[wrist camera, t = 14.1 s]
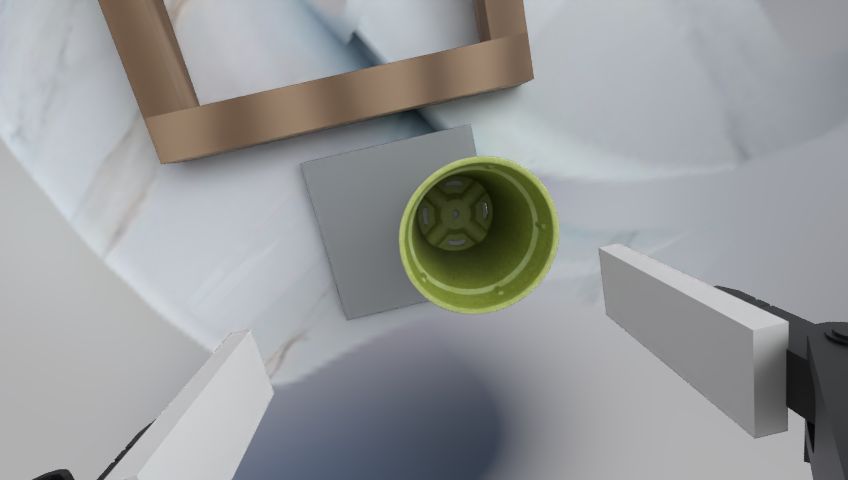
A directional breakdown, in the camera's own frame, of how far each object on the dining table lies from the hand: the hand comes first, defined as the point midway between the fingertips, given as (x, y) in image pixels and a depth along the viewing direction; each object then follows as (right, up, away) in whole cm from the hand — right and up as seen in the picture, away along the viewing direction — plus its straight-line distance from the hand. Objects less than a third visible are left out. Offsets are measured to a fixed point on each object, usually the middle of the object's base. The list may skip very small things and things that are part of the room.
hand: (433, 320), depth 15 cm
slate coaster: (-2, +4, +18) cm, 18 cm away
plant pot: (+2, +5, +17) cm, 18 cm away
